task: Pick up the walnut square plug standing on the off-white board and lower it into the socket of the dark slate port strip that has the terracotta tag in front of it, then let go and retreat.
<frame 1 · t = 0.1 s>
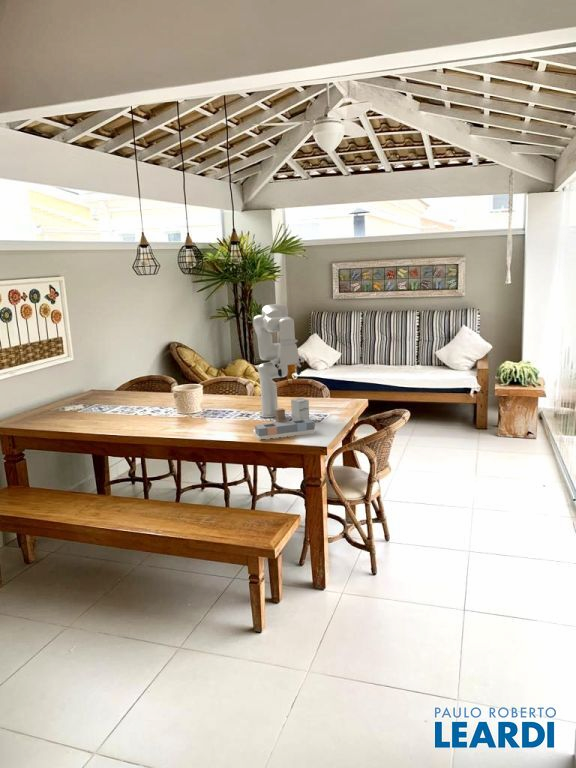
hand: (289, 375, 308), 31 cm above the table, tool pointing down, fingers open, 9 cm apart
walnut plug: (281, 427, 319), point 2 cm above the table, touching port board
port board: (283, 433, 315), on the table
supplement box: (300, 421, 339), on the table
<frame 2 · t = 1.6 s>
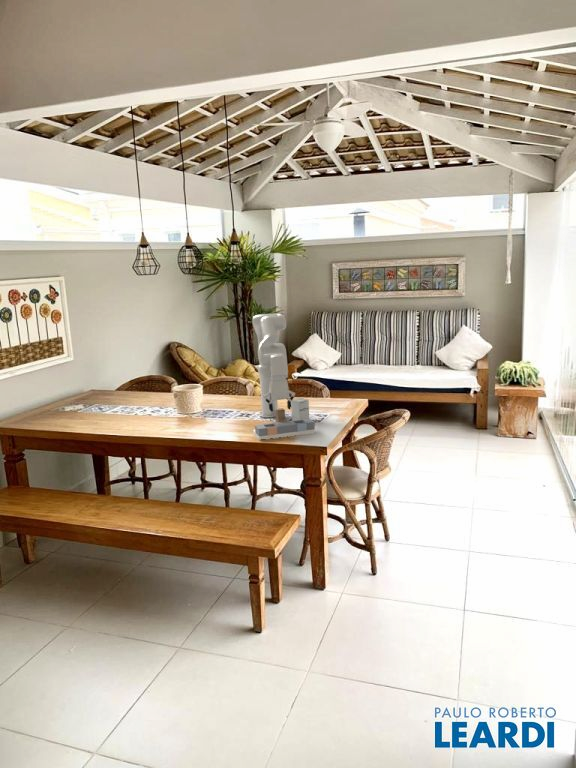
hand: (280, 409, 317), 12 cm above the table, tool pointing down, fingers open, 9 cm apart
nothing on the table moved.
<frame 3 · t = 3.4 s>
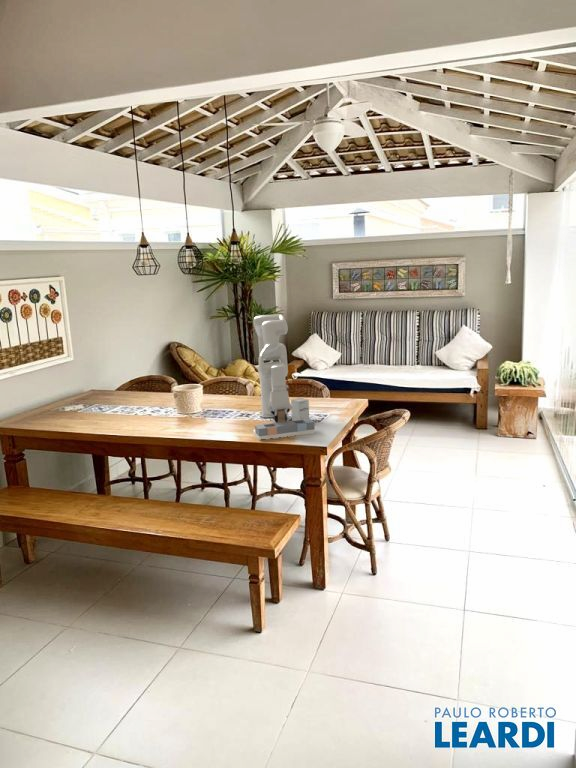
hand: (280, 421, 319), 5 cm above the table, tool pointing down, fingers closed on walnut plug, 4 cm apart
walnut plug: (281, 427, 319), point 2 cm above the table, touching gripper, port board
everything else where it was.
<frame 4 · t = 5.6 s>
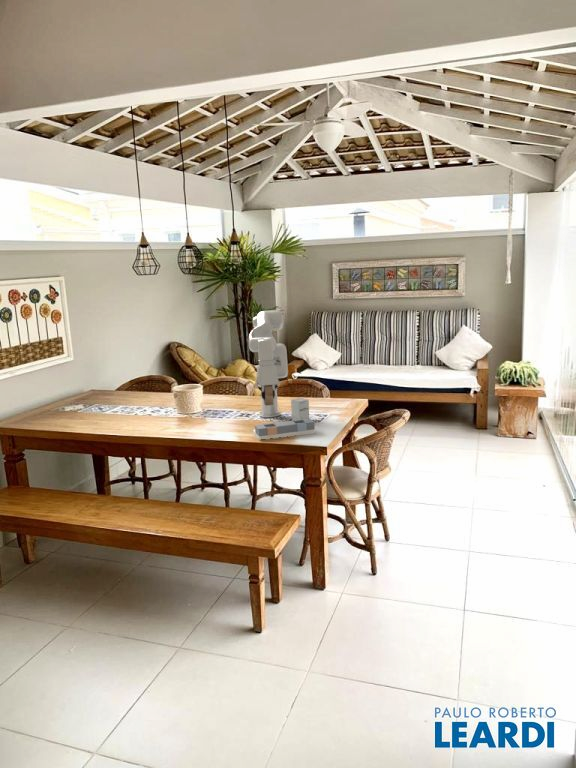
hand: (268, 398, 306), 21 cm above the table, tool pointing down, fingers closed on walnut plug, 4 cm apart
walnut plug: (268, 404, 307), point 17 cm above the table, touching gripper
everything else where it was.
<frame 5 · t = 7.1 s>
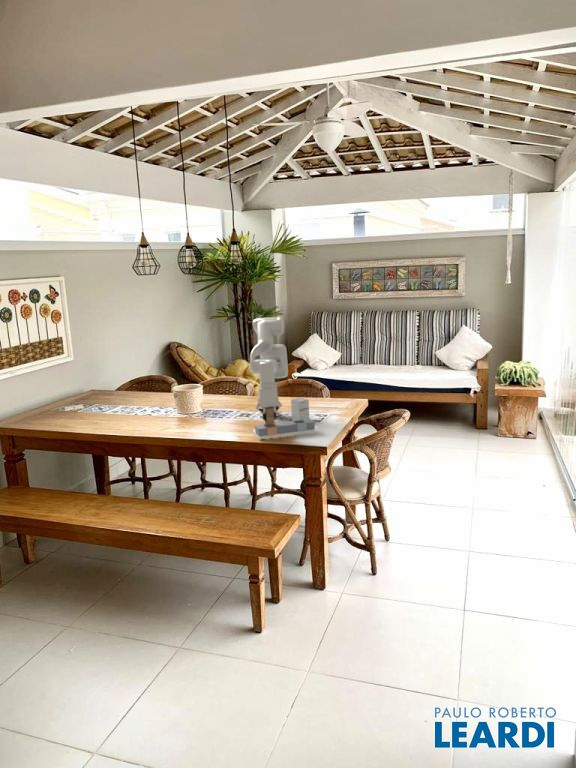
hand: (269, 419, 308), 9 cm above the table, tool pointing down, fingers closed on walnut plug, 4 cm apart
walnut plug: (269, 425, 309), point 6 cm above the table, touching gripper
everything else where it was.
when the fingers open (7 cm above the table, at t = 8.1 s): walnut plug drops 2 cm, resting on port board.
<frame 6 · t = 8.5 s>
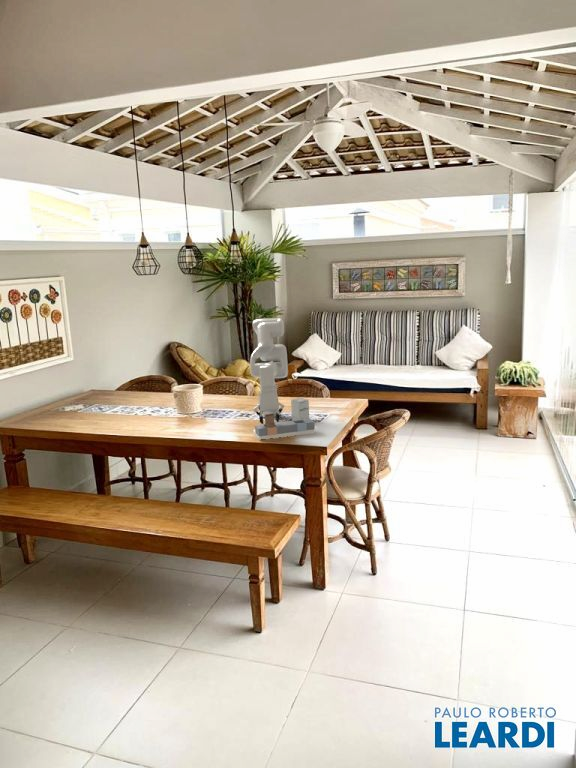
hand: (269, 422, 309), 8 cm above the table, tool pointing down, fingers open, 7 cm apart
walnut plug: (270, 432, 310), point 2 cm above the table, touching port board
everything else where it was.
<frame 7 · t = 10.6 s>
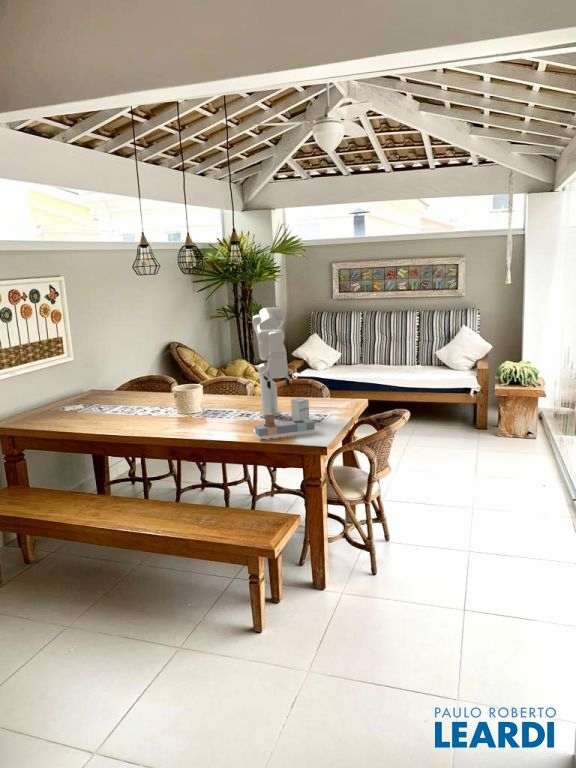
hand: (278, 387, 312), 24 cm above the table, tool pointing down, fingers open, 9 cm apart
nothing on the table moved.
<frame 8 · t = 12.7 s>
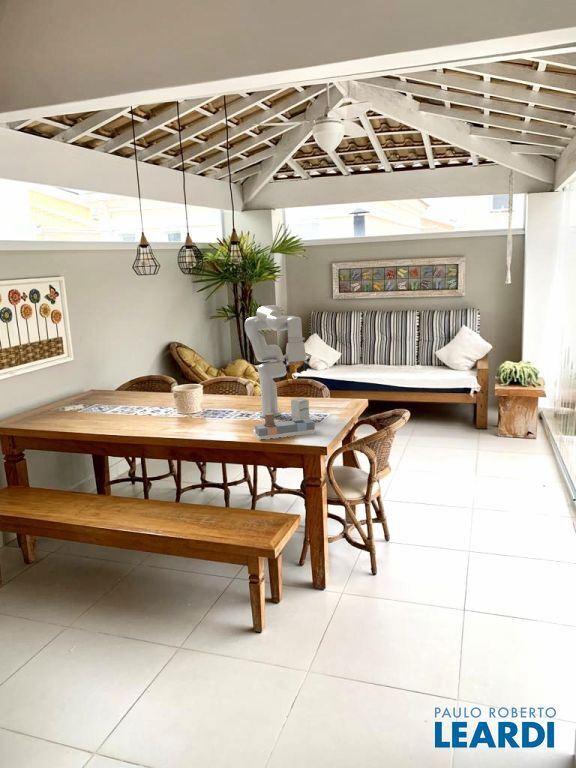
hand: (296, 371, 322), 30 cm above the table, tool pointing down, fingers open, 9 cm apart
nothing on the table moved.
at the end: walnut plug 0.0 cm from the target spot on the port board, point 2.0 cm above the port board's base; walnut plug tilted 0°; the gripper is holding nothing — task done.
